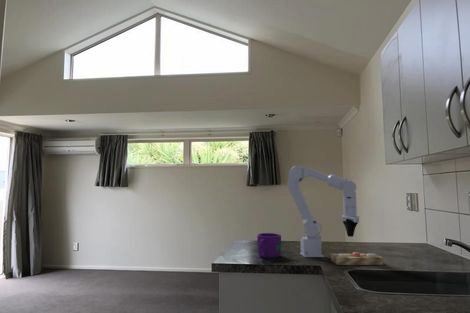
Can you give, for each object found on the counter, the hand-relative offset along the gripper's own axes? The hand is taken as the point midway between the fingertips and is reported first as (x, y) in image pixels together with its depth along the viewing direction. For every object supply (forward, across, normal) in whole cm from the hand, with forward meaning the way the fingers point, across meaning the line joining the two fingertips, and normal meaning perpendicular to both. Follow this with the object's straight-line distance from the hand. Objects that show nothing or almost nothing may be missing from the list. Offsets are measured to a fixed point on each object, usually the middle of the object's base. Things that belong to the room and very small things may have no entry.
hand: (350, 236), depth 153 cm
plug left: (+10, -6, +7) cm, 13 cm away
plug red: (+9, -6, 0) cm, 11 cm away
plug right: (+10, -6, -7) cm, 13 cm away
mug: (+11, +6, +38) cm, 40 cm away
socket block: (+10, -6, 0) cm, 12 cm away
